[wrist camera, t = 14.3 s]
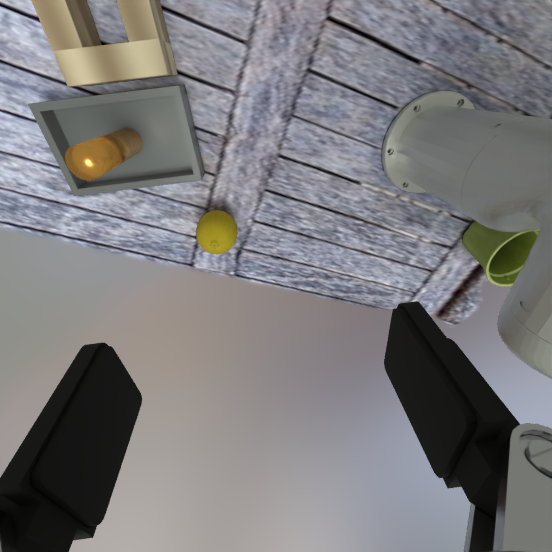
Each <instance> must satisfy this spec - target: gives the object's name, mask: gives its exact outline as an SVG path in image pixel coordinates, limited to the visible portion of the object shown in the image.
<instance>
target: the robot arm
mask: <svg viewBox="0 0 552 552" xmlns="http://www.w3.org/2000/svg"><path fill="white" fill-rule="evenodd" d="M457 103H458V104H457ZM414 106H415V109H414ZM388 150H389V152H387V151H388ZM382 164H383V168H384V171H385V174H386V176H387V178H388V179H389V180H390V181H391V182H392V183H393V184H394V185H395V186H396V187H398V188H399V189H401V190H403V191H406V192H410V193H424V192H429V193H431V194H432V195H434V196H436V197H437V198H439V199H440V200H442V201H444V202H445V203H447V204H449V205H450V206H452V207H453V208H455V209H457V210H458V211H460V212H461V213H463V214H465V215H466V216H468V217H470V218H472V219H473V220H475V221H477V222H478V223H480V224H481V225H483V226H485V227H488V228H490V229H493V230H496V231H502V232H526V231H533V230H538V229H540V230H539V234H538V236H537V238H536V240H535V242H534V244H533V246H532V248H531V250H530V254H529V256H528V257H527V259H526V261H525V263H524V265H523V267H522V269H521V270H520V272H519V274H518V276H517V278H516V280H515V281H514V283H513V285H512V287H511V289H510V291H509V293H508V295H507V297H506V299H505V301H504V303H503V305H502V307H501V310H500V312H499V315H498V323H497V325H498V332H499V335H500V337H501V339H502V341H503V342H504V344H505V345H506V346H507V348H508V349H509V350H510V351H511V352H512V353H513V354H514V355H515V356H516V357H517V358H519V359H520V360H521V361H523V362H524V363H526V364H527V365H528V366H530V367H531V368H533V369H534V370H536V371H538V372H539V373H541V374H543V375H545V376H547V377H549V378H551V379H552V119H548V118H540V117H532V116H524V115H516V114H508V113H500V112H492V111H484V110H476V109H475V107H474V105H473V103H472V102H471V101H470V100H469V99H468V98H467V97H465V96H464V95H462V94H460V93H457V92H453V91H435V92H431V93H428V94H425V95H422V96H420V97H419V98H417V99H415V100H413V101H412V102H411V103H410V104H408V105H407V106H406V107H405V108H404V109H403V110H402V111H401V112H400V113H399V114H398V115H397V117H396V118H395V120H394V121H393V122H392V124H391V126H390V128H389V130H388V132H387V134H386V137H385V140H384V143H383V149H382ZM403 183H404V184H403ZM384 365H385V370H386V372H387V374H388V377H389V379H390V381H391V383H392V385H393V387H394V389H395V391H396V393H397V395H398V398H399V399H400V402H401V403H402V406H403V408H404V410H405V412H406V414H407V416H408V418H409V421H410V423H411V425H412V427H413V429H414V431H415V433H416V435H417V437H418V439H419V442H420V444H421V446H422V448H423V450H424V452H425V454H426V456H427V458H428V460H429V462H430V465H431V467H432V469H433V471H434V473H435V474H436V475H437V476H438V477H439V478H443V479H444V481H445V484H446V485H447V488H454V487H462V488H463V490H464V492H465V494H466V496H467V498H468V500H469V501H470V502H471V505H470V512H469V519H468V525H467V532H466V540H465V546H464V552H552V429H551V428H549V427H545V426H542V425H539V424H530V423H526V424H522V425H520V424H519V422H518V421H517V420H516V418H515V417H514V416H513V415H512V413H511V412H510V411H509V410H508V408H507V407H506V406H505V405H504V403H503V402H502V401H501V400H500V398H499V397H498V396H497V395H496V393H495V392H494V391H493V390H492V388H491V387H490V386H489V384H488V383H487V382H486V381H485V380H484V378H483V377H482V376H481V374H480V373H479V372H478V371H477V370H476V368H475V367H474V366H473V364H472V363H471V362H470V361H469V359H468V358H467V357H466V356H465V354H464V353H463V352H462V350H461V349H460V348H459V347H458V345H457V344H456V343H455V342H454V341H453V340H451V339H449V338H446V336H445V335H444V334H443V332H442V331H441V330H440V329H439V327H438V326H437V325H436V323H435V322H434V321H433V319H432V318H431V317H430V316H429V314H428V313H427V312H426V310H425V309H424V308H423V307H422V305H421V304H420V303H419V302H417V301H416V302H409V303H401V304H399V305H398V307H397V309H393V312H392V317H391V324H390V329H389V335H388V342H387V347H386V353H385V359H384ZM141 403H142V396H141V393H140V391H139V390H138V388H137V386H136V385H135V383H134V382H133V380H132V378H131V377H130V375H129V373H128V372H127V370H126V368H125V367H124V365H123V364H122V362H121V360H120V359H119V357H118V355H117V354H116V352H115V350H114V349H113V348H112V347H111V346H108V345H107V344H106V343H96V344H89V345H84V346H83V347H82V348H81V349H80V351H79V352H78V354H77V356H76V357H75V359H74V360H73V362H72V364H71V365H70V367H69V369H68V370H67V372H66V373H65V375H64V377H63V378H62V380H61V381H60V383H59V385H58V386H57V388H56V389H55V391H54V393H53V394H52V396H51V397H50V399H49V401H48V402H47V404H46V406H45V407H44V409H43V411H42V412H41V414H40V415H39V417H38V418H37V420H36V421H35V423H34V425H33V426H32V428H31V430H30V431H29V433H28V435H27V436H26V438H25V439H24V441H23V443H22V444H21V446H20V447H19V449H18V451H17V452H16V454H15V455H14V457H13V459H12V460H11V462H10V463H9V465H8V467H7V468H6V470H5V471H4V473H3V475H2V476H1V478H0V552H69V549H70V547H71V544H72V541H73V540H79V539H86V538H93V536H94V533H95V530H96V527H97V525H99V524H100V523H101V522H102V520H103V519H104V516H105V514H106V511H107V508H108V505H109V501H110V498H111V495H112V492H113V489H114V486H115V483H116V480H117V477H118V474H119V471H120V468H121V465H122V462H123V459H124V456H125V453H126V450H127V447H128V444H129V441H130V437H131V434H132V431H133V428H134V425H135V422H136V419H137V416H138V413H139V410H140V407H141Z"/></svg>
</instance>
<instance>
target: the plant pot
mask: <svg viewBox="0 0 552 552" xmlns="http://www.w3.org/2000/svg"><path fill="white" fill-rule="evenodd" d="M539 230H540V229H538V230H533V231H526V232H502V231H496V230H493V229H490V228H488V227H485V226H483V225H481V224H480V223H478V222H477V221H475V222H473V223H472V224H471V225H470V227H469V229H468V230H467V231H466V232H465V233H464V235H463V245H464V246H465V248H466V249H467V250H468V251H469V252H470V253H471V254H472V255H473V256H474V258H475V259H476V260H477V261H478V262H479V263H480V264H481V265H482V267H483V269H484V271H485V273H486V276H487V278H488V280H489V281H490V282H492V283H493V284H495V285H498V286H512V285H513V283H514V281H515V280H516V278H517V276H518V274H519V272H520V270H521V269H522V267H523V265H524V263H525V261H526V259H527V257H528V256H529V254H530V250H531V248H532V246H533V244H534V242H535V240H536V238H537V236H538V234H539Z"/></svg>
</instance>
